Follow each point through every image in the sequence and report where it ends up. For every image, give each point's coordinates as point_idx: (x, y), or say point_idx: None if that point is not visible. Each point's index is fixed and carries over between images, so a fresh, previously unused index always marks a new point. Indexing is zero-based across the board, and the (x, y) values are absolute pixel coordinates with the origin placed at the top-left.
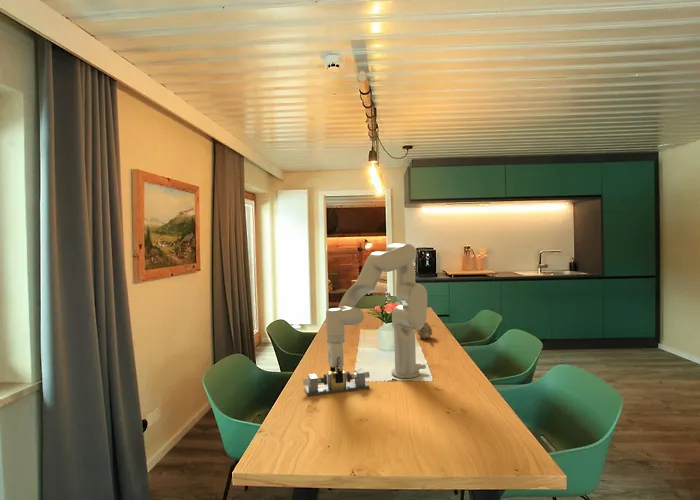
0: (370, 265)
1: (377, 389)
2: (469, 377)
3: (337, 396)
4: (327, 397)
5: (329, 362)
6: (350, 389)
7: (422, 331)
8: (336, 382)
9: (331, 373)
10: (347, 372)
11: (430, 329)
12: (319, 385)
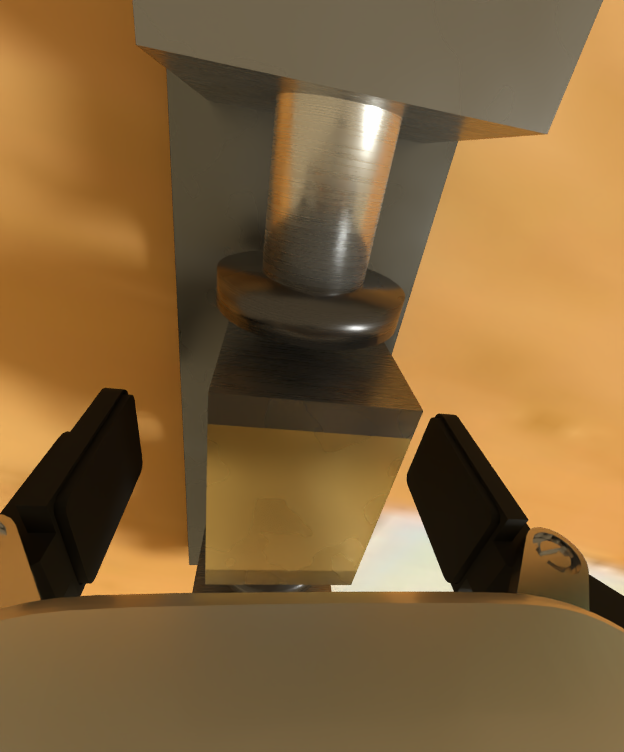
0: None
1: (165, 574)
2: None
3: (79, 313)
4: (64, 193)
5: (373, 679)
6: (186, 457)
7: None
8: (101, 400)
9: (274, 440)
10: (256, 589)
11: None
12: (422, 211)
